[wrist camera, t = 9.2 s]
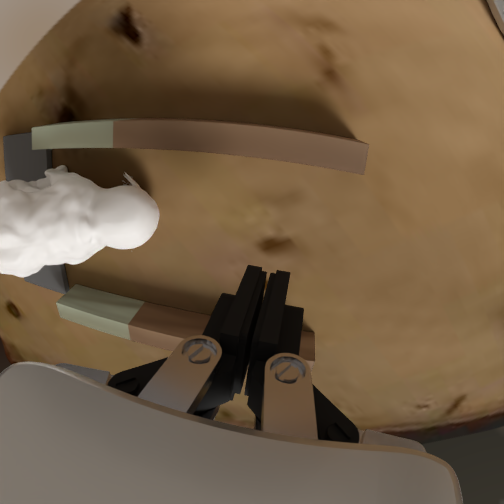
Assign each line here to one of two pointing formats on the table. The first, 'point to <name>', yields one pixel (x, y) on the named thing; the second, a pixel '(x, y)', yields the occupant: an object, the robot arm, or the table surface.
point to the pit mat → (29, 169)
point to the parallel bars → (199, 140)
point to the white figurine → (69, 220)
